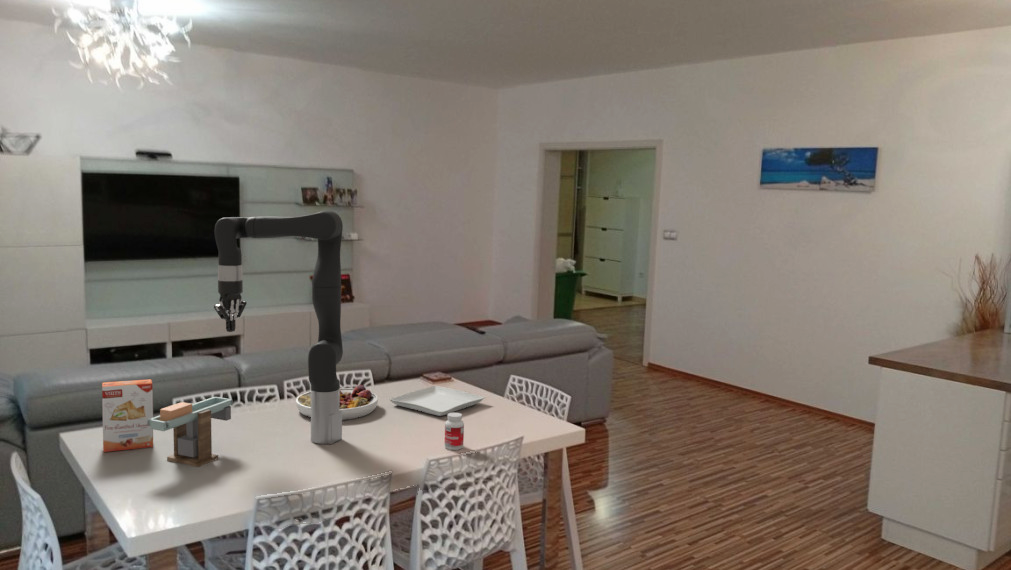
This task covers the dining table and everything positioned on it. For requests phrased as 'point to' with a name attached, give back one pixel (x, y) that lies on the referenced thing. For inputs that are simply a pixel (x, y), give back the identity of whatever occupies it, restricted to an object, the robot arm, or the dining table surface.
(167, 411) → the block
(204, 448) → the pivot stand
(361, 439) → the dining table surface
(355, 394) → the bowl
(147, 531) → the dining table surface
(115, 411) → the cracker box
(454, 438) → the pill bottle
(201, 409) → the beam
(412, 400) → the square plate
